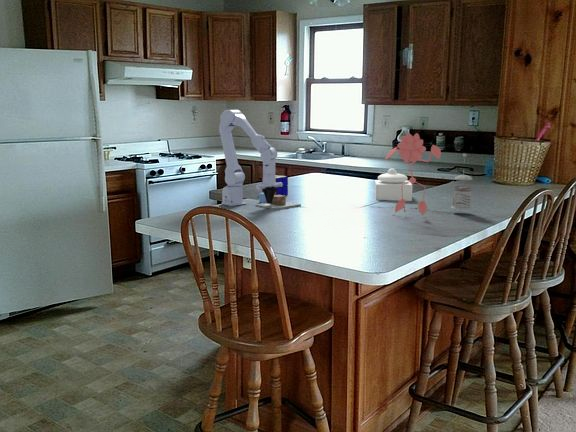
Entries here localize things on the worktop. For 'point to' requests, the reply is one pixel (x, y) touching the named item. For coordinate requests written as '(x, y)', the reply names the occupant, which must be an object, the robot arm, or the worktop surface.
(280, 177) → the puzzle cube
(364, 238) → the worktop surface
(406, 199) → the white lidded canister
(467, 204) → the french press
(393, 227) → the worktop surface
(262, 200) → the blue cube
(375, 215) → the worktop surface
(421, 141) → the figurine
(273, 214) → the worktop surface
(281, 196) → the walnut block
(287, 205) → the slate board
